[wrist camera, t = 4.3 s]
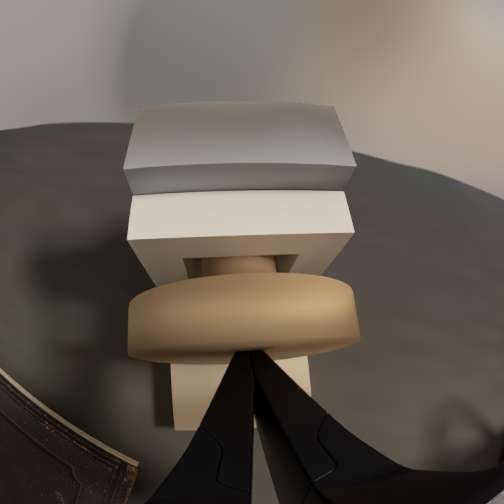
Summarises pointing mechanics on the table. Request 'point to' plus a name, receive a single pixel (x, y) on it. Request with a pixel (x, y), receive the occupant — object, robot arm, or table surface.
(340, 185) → the base
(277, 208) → the spacer
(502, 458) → the coffee mug
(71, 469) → the hardcover book
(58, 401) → the table surface
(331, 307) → the tan egg-shaped dome
